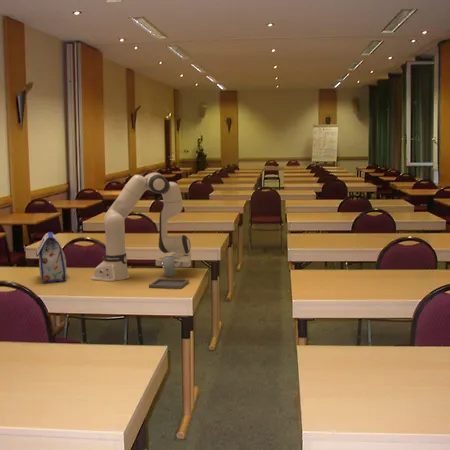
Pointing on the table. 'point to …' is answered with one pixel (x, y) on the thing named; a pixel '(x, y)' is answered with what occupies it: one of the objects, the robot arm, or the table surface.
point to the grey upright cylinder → (169, 266)
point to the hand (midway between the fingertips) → (168, 265)
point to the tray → (169, 283)
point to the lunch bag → (51, 259)
